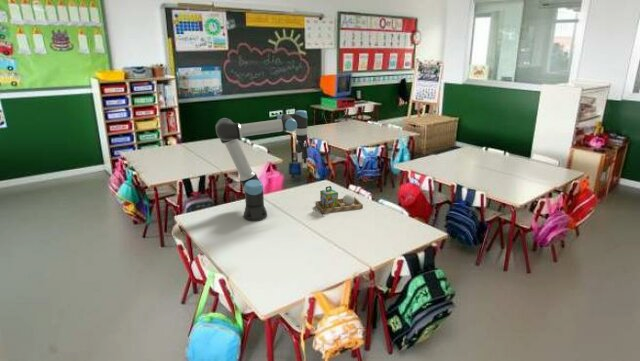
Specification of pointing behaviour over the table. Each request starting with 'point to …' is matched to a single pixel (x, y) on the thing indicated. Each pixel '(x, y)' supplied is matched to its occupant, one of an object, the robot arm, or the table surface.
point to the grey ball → (348, 199)
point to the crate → (340, 206)
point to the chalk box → (328, 198)
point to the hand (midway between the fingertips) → (302, 164)
